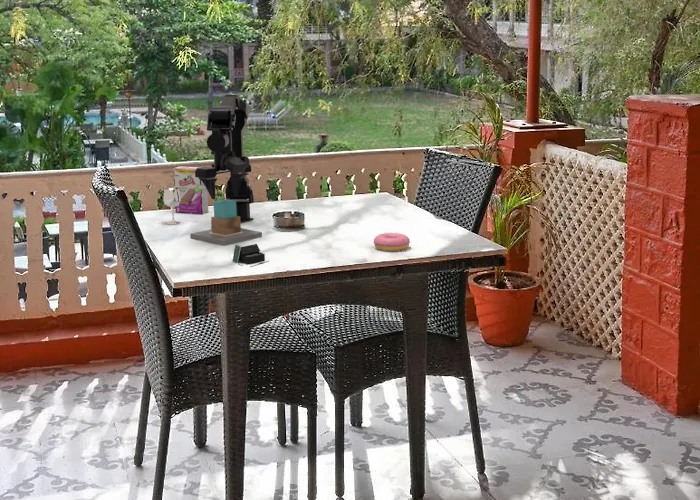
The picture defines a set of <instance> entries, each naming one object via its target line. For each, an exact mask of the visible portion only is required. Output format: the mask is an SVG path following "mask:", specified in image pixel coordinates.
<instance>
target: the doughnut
mask: <svg viewBox="0 0 700 500" xmlns="http://www.w3.org/2000/svg"><path fill="white" fill-rule="evenodd" d="M410 243H411V241H410V238H409V237H408V236H407V235H406V234H403V233H400V232H386V233H379V234H378V235H376V236H375V237H374V238H373V245H374V247H375V248H376V249H377V250H380V251H382V250H383V252H400V250H401V251H404V249H405V250H407V248H409V246H410Z"/></svg>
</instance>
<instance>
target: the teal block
mask: <svg viewBox="0 0 700 500" xmlns="http://www.w3.org/2000/svg"><path fill="white" fill-rule="evenodd" d="M213 213H214V214H213V217H217V218H222V219H227V218H232V217H237V212H236V201H233V200H227V199H226V198H225V199H220V200H215V201H213Z"/></svg>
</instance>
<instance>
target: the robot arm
mask: <svg viewBox="0 0 700 500" xmlns="http://www.w3.org/2000/svg"><path fill="white" fill-rule="evenodd" d="M249 117H250V115H249V107H248V104H247V102H246V101H244V100H243V99H241V97H240V95H238V94H225V95H223V96H222V100H221V101H220V104H219V105H216V106H214V105H213V106H212V107H211V108H210V110H209V111H208V114H207V122H206V123H207V125H206V131H209V132H211V134H209V136H207V140H206V146H207V148H208V149H209V150H210V155H211V156H212V155H213V163H212V164H211V167H207V166H203V167H200V168H197V169H196V170H195V177H198V178H199V179H200V180H202V182H203V184H204V185H205V187H206V189H207V192H208V194H209V196H210V198H211V199H212V200H216V182H217V180H218V178H217V175H220V174H227V173H229V174H230V176H229V177H228V180H227V182H226V186H225V190H224V191H225V199H227V200H233V201H236V212H237V216H240V223H244V222H248V221H253V220H254V217H251V207H250V206H251V205H250V204H254V203H255V200H254V199H255V197H254V191H253V189H252V186H251V185H250V180H249V178H248V177H247V176H249V173H251V172H252V165H251V163H250V158H249V157H248V156H247V155H244V129H245V127H246V126H247V124H248V119H249Z"/></svg>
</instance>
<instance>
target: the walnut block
mask: <svg viewBox="0 0 700 500" xmlns="http://www.w3.org/2000/svg"><path fill="white" fill-rule="evenodd" d="M210 218H211V219H210V221H211V223H210V224H211V225H210V226H211V229H212V233H216V234H221V235H229V234H234V233H238V232H241V228H242V227H241V223H242V222H240V216H237V217H232V218H227V219H222V218H217V217H214V216H211V217H210Z"/></svg>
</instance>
